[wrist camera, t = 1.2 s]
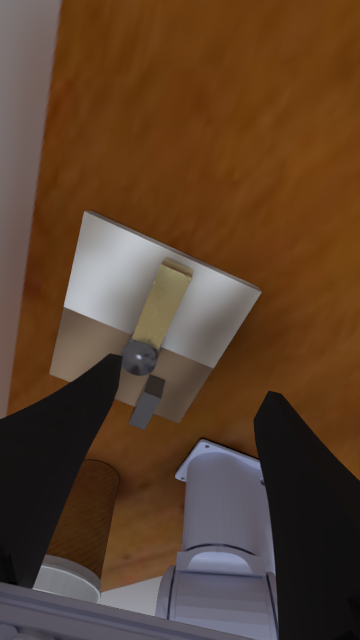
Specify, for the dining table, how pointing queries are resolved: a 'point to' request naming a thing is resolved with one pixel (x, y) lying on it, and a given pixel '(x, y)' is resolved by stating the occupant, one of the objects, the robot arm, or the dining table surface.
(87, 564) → the disposable coffee cup
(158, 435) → the dining table surface
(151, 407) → the keeper block
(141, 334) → the bar
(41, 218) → the dining table surface
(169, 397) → the door edge board
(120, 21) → the dining table surface
